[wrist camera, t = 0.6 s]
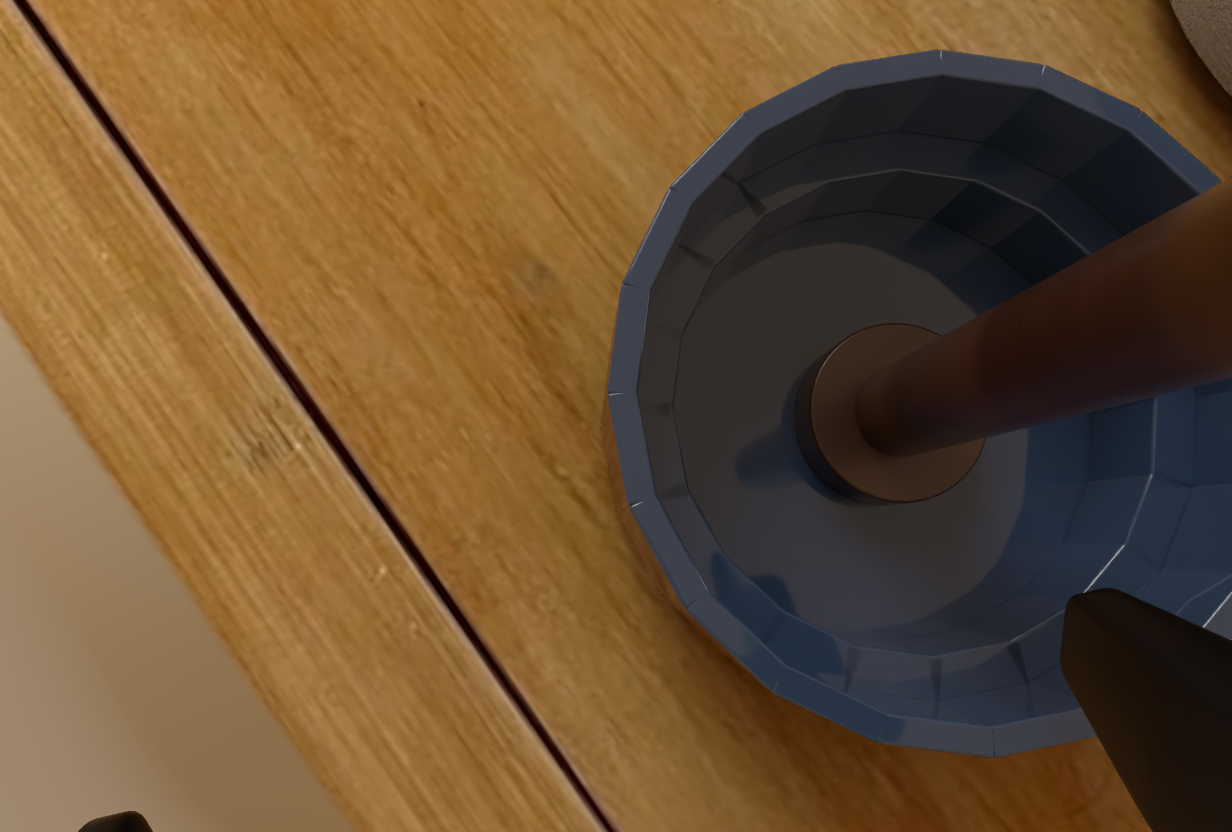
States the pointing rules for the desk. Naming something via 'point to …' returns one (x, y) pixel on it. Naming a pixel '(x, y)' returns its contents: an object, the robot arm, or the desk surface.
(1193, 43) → the planter
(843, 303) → the bowl
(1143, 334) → the stirring stick
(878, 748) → the desk surface
